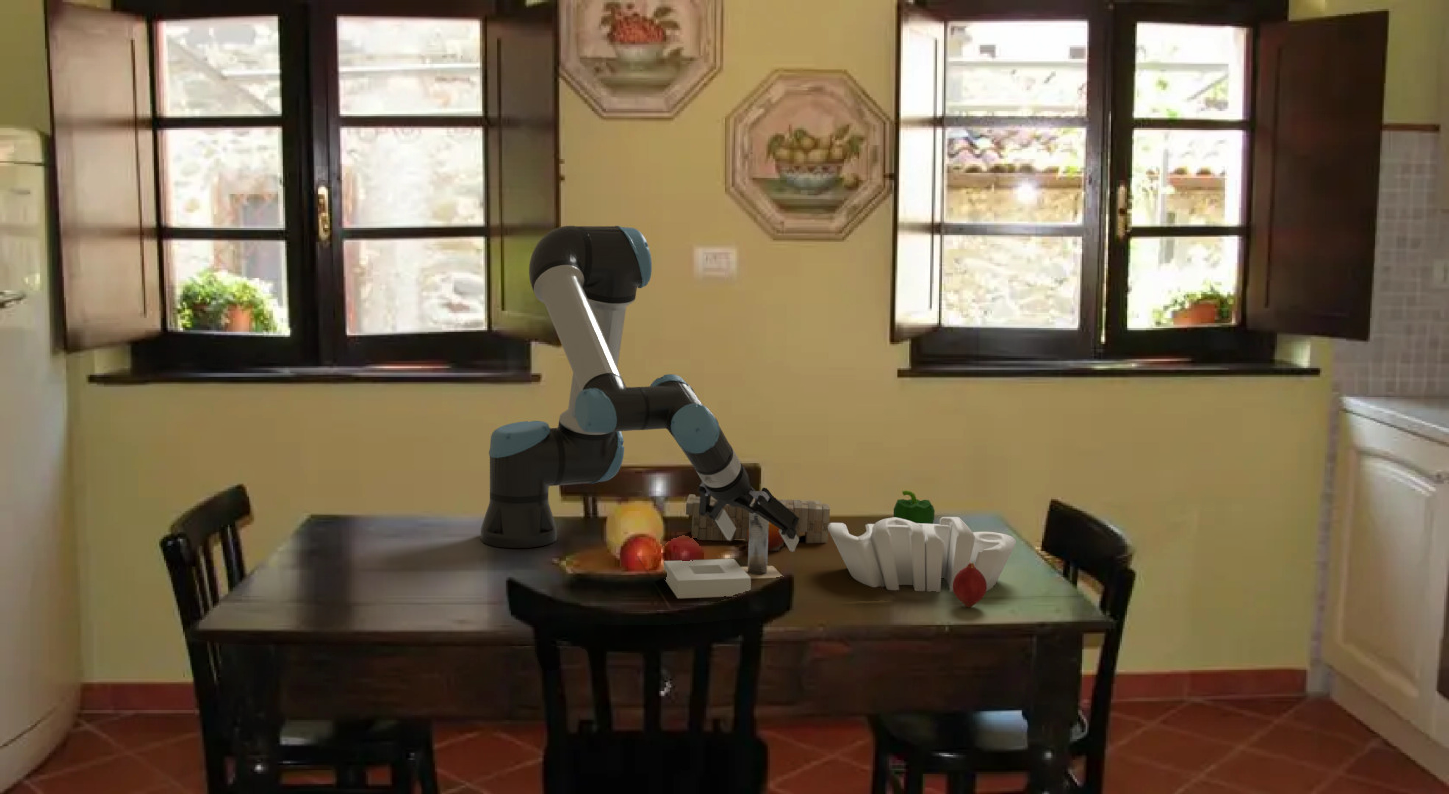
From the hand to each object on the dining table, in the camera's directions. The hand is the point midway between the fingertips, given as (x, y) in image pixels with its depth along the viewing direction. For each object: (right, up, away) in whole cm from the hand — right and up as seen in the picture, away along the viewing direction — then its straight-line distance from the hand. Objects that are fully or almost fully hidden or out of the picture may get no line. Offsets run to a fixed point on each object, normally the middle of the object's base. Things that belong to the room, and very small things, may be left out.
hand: (762, 539), depth 258 cm
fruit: (+1, -4, +19) cm, 20 cm away
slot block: (-10, -8, -10) cm, 16 cm away
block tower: (0, -3, +29) cm, 29 cm away
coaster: (-1, -6, 0) cm, 6 cm away
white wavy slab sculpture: (+29, -8, 0) cm, 30 cm away
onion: (+35, -10, -17) cm, 40 cm away
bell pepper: (+32, -3, +32) cm, 45 cm away
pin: (-1, -6, 0) cm, 6 cm away
